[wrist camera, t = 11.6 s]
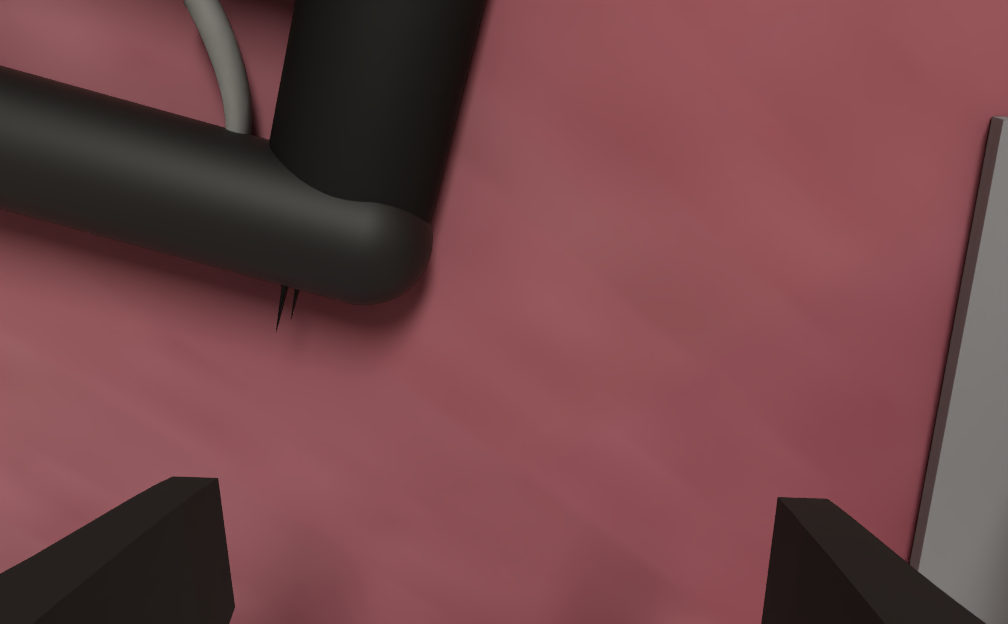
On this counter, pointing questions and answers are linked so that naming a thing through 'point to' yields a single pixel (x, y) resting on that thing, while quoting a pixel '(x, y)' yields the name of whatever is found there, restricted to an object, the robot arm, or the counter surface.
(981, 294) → the mat
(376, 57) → the door handle
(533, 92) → the counter surface
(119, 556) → the robot arm
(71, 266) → the counter surface
